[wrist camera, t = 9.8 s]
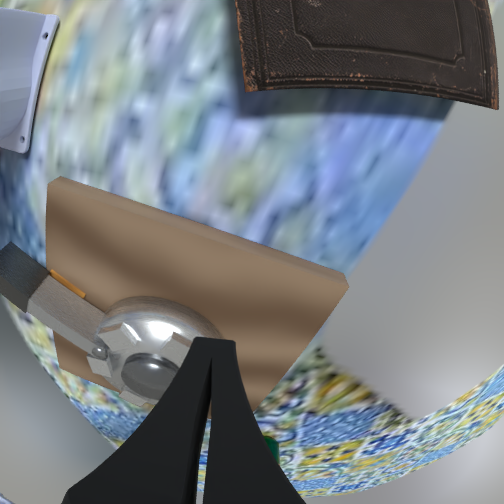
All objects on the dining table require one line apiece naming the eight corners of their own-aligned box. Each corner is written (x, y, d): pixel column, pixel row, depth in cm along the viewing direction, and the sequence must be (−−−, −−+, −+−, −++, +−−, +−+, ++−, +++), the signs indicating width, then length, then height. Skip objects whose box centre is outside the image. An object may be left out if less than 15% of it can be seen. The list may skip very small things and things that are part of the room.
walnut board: (60, 176, 16) (45, 184, 14) (343, 273, 20) (349, 288, 18) (64, 357, 25) (58, 369, 24) (241, 413, 29) (241, 426, 27)
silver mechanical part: (255, 343, 20) (255, 383, 17) (186, 396, 24) (181, 429, 21) (24, 193, 15) (-10, 216, 12) (7, 287, 19) (-15, 313, 16)
